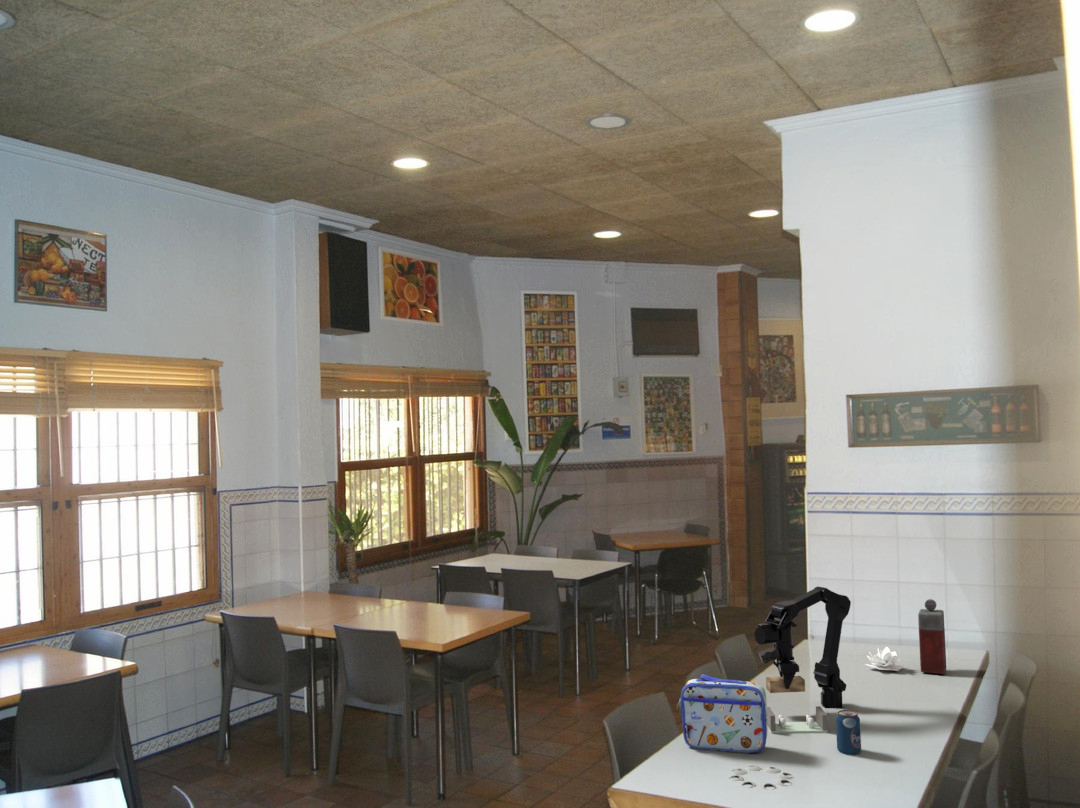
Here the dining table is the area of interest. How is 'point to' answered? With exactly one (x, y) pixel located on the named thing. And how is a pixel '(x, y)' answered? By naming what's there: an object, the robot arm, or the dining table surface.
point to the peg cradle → (798, 723)
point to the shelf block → (779, 687)
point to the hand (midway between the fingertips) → (785, 686)
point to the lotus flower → (884, 660)
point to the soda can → (848, 732)
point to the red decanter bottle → (932, 639)
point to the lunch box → (724, 715)
